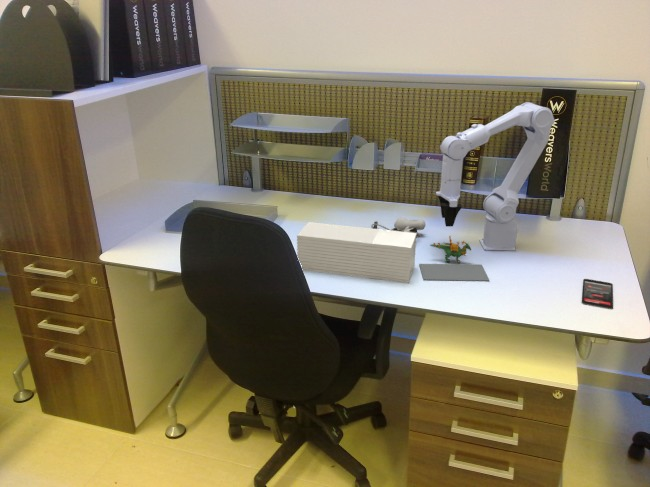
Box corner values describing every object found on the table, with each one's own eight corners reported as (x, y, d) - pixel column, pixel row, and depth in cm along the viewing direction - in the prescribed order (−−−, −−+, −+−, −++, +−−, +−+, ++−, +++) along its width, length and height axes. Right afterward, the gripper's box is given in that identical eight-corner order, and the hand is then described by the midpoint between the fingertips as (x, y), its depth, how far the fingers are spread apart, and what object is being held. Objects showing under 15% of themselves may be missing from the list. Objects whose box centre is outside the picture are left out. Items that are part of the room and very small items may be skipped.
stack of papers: (414, 267, 166) (416, 232, 161) (409, 283, 156) (411, 247, 152) (308, 255, 174) (308, 221, 169) (297, 269, 164) (296, 235, 160)
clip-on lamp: (365, 244, 188) (416, 244, 178) (361, 227, 186) (412, 225, 176) (380, 229, 197) (429, 228, 187) (376, 212, 194) (426, 210, 185)
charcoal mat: (481, 265, 166) (481, 264, 166) (489, 281, 157) (489, 280, 157) (419, 264, 167) (419, 263, 167) (423, 280, 158) (423, 279, 157)
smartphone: (581, 302, 145) (583, 278, 158) (581, 305, 145) (583, 280, 158) (613, 308, 142) (612, 283, 155) (612, 311, 143) (612, 285, 155)
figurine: (469, 265, 166) (472, 239, 163) (428, 261, 169) (429, 236, 165) (470, 261, 169) (472, 235, 165) (428, 257, 171) (430, 232, 168)
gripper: (433, 171, 174) (430, 213, 179) (440, 185, 160) (437, 230, 166) (457, 171, 173) (453, 213, 179) (466, 185, 160) (461, 230, 165)
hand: (447, 221), depth 172 cm, fingers open, 6 cm apart
